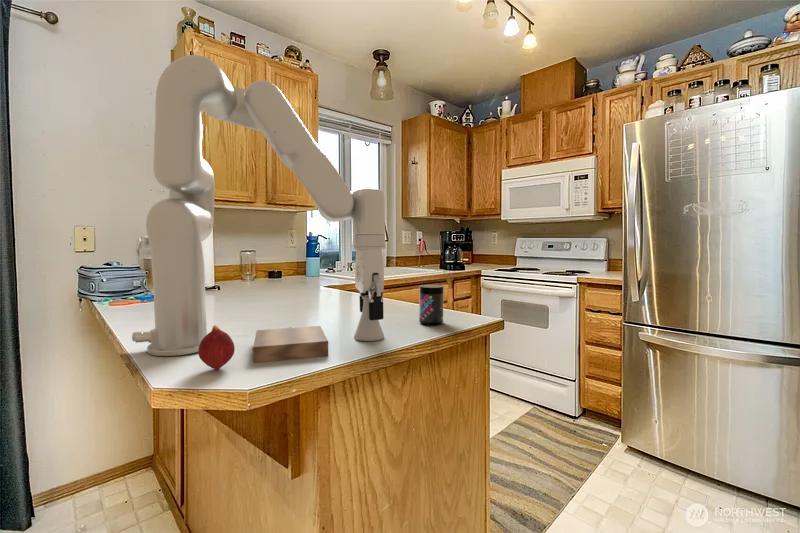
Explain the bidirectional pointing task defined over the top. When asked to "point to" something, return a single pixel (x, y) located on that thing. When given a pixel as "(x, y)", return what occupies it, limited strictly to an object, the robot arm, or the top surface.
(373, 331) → the flask
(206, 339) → the onion
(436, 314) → the supplement container
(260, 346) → the block
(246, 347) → the top surface
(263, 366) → the top surface
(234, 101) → the robot arm
